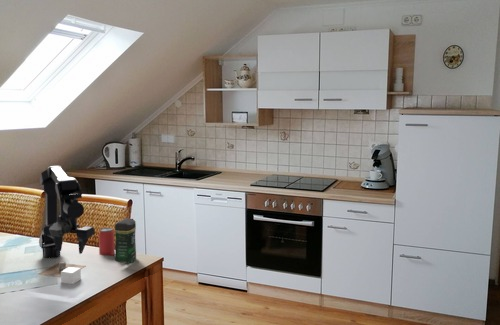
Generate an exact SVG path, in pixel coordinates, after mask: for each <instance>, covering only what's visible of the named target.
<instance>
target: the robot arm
mask: <svg viewBox="0 0 500 325" xmlns="http://www.w3.org/2000/svg"><path fill="white" fill-rule="evenodd" d="M39 184H40V186H41V188H42V189H43V191H44V193H45V224H44V226H42V228H41V234H40V235H39V240H38V244H39V248H41V249H42V257H44V258H45V259H57V258H59V257H61V252H62V249H63V248H62V247H63V244H64V243H63V242H64V236H65V234H67V235H68V234H76V236H77V237H76V240H77V241H78V242H77V243H78V253H79V255H82V254H83V252H84V249H85V247H86V244H87V242H88V240H89V238H91V237H92V236H94V235H96V230H95V227H93V226H86V225H85V226H83V227H80V223H78V219H79V218H80V217H81V216H83V214H84V213H85V212H84V211H85V208H84V206H83V204H82V203H80V202H79V199H82V195H83V192H82V188H81V184H80V183H79V181H78V180H77V179H76V178H75V177H73V176H68V175H67V174H66V172H65V171H64V170H63V167H62V165H50V166H48V167H47V168H46V169H45V170H44V171H41V173H40V175H39ZM58 200H59V214H60V215H58ZM79 227H80V228H79Z"/></svg>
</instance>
